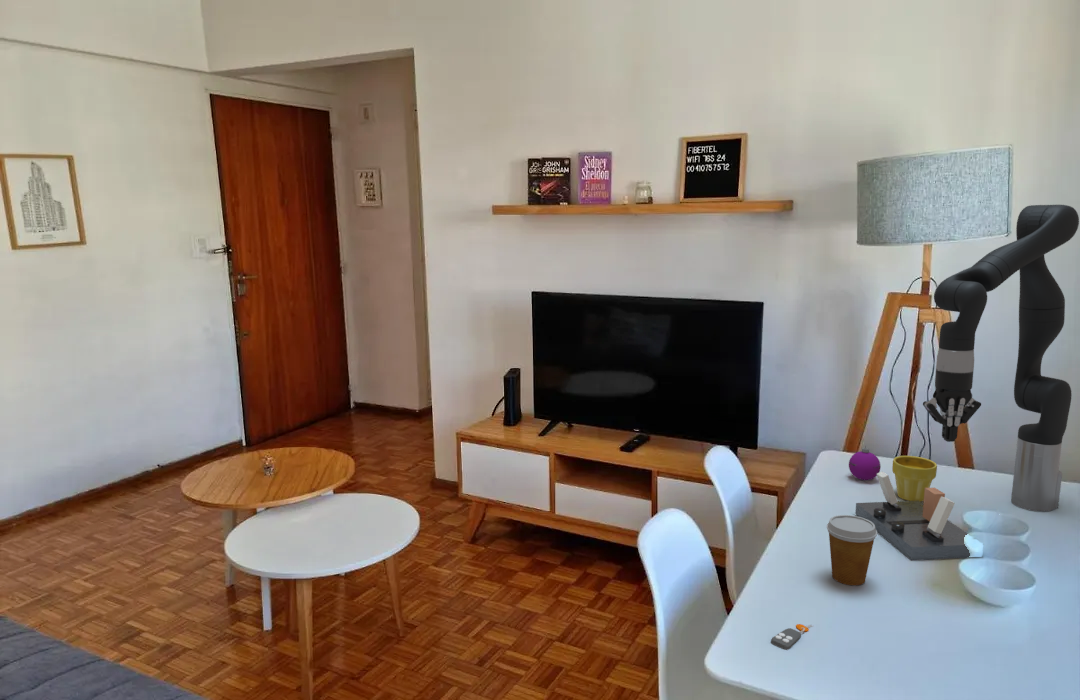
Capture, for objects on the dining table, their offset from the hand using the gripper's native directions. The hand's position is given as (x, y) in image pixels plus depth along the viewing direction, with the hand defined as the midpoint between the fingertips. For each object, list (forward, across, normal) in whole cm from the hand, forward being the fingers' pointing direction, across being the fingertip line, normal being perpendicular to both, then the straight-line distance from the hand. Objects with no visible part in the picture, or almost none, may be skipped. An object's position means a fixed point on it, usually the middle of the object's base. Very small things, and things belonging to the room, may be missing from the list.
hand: (948, 440), depth 172 cm
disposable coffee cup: (+21, +33, +23) cm, 46 cm away
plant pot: (+22, -3, -18) cm, 29 cm away
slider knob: (+18, +5, +4) cm, 19 cm away
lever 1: (+17, +10, -5) cm, 20 cm away
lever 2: (+17, +10, +12) cm, 23 cm away
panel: (+21, +9, +4) cm, 23 cm away
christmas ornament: (+22, +4, -32) cm, 39 cm away
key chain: (+21, +51, +42) cm, 70 cm away
